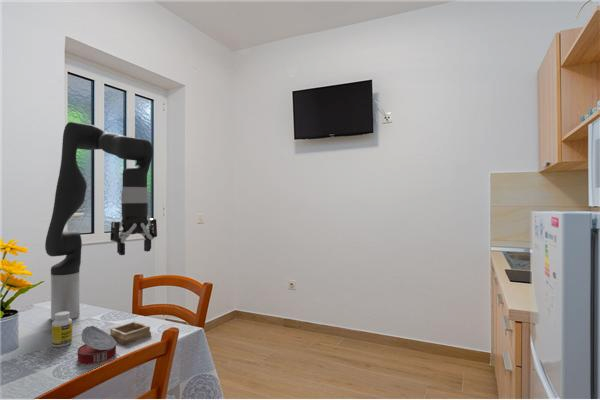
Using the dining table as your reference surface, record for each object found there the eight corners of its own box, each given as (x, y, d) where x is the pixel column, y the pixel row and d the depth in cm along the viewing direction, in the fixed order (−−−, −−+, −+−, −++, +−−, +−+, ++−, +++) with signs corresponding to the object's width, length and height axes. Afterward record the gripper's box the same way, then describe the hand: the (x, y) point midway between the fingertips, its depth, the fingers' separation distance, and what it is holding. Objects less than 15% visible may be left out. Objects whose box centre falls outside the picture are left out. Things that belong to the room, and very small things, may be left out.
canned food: (101, 364, 109) (115, 330, 114) (115, 371, 103) (129, 335, 107) (63, 358, 102) (79, 322, 106) (75, 365, 96) (93, 327, 100)
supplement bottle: (61, 348, 110) (61, 316, 109) (47, 346, 111) (47, 315, 111) (76, 341, 115) (76, 311, 115) (62, 339, 116) (62, 309, 116)
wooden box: (109, 338, 117) (109, 329, 117) (135, 329, 125) (135, 320, 125) (125, 345, 112) (125, 335, 112) (151, 335, 120) (151, 326, 120)
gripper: (148, 201, 119) (147, 249, 120) (105, 201, 107) (105, 255, 108) (162, 201, 115) (161, 251, 116) (119, 202, 103) (119, 257, 104)
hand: (134, 253), depth 112 cm, fingers open, 8 cm apart
